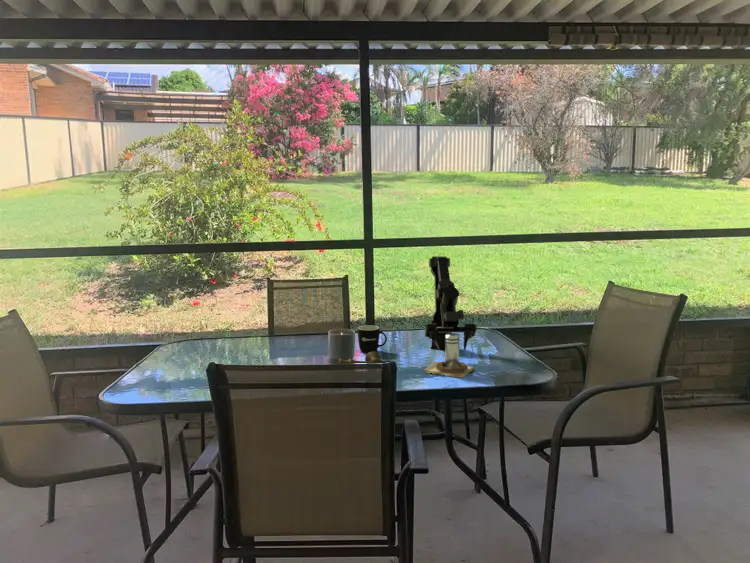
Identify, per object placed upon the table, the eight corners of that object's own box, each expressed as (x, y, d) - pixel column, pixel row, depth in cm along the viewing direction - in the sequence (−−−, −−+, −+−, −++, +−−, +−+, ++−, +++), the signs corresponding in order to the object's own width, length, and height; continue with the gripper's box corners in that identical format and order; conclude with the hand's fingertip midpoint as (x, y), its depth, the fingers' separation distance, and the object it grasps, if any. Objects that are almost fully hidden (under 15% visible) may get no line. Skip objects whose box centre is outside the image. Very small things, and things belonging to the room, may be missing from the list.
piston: (442, 369, 221) (442, 334, 219) (451, 366, 224) (451, 332, 222) (452, 372, 217) (453, 337, 215) (461, 369, 220) (462, 334, 218)
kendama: (337, 369, 227) (389, 364, 230) (340, 377, 217) (394, 373, 220) (336, 353, 226) (388, 349, 229) (339, 361, 216) (393, 357, 219)
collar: (423, 372, 220) (423, 366, 219) (435, 364, 230) (435, 357, 230) (462, 378, 213) (462, 371, 213) (472, 369, 224) (473, 362, 223)
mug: (357, 354, 244) (357, 330, 243) (358, 348, 253) (357, 325, 251) (387, 354, 244) (387, 330, 243) (386, 348, 253) (386, 325, 252)
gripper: (426, 302, 221) (428, 338, 212) (476, 302, 222) (481, 338, 213) (423, 318, 230) (426, 354, 221) (471, 318, 231) (476, 353, 222)
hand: (452, 349), depth 219 cm, fingers open, 9 cm apart
